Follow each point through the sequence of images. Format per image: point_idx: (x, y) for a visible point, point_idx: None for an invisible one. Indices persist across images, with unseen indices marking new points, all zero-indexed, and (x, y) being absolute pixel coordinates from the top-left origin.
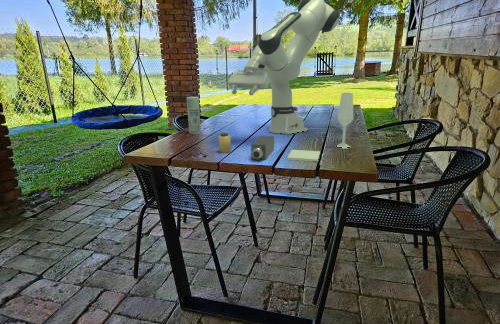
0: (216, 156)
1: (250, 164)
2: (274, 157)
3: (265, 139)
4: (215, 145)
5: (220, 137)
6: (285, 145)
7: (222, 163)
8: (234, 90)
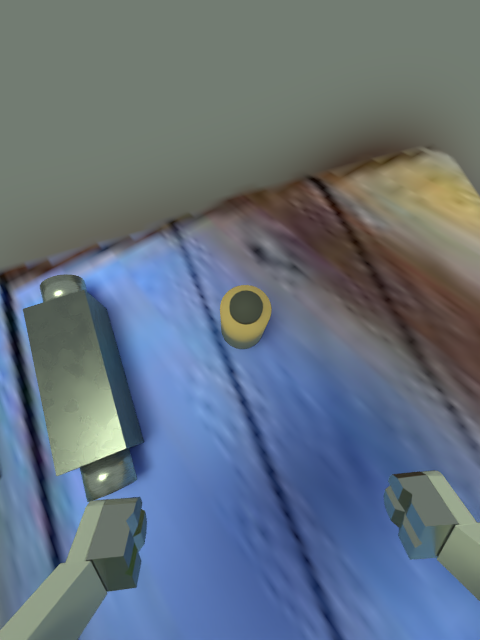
0: (225, 269)
1: (79, 263)
2: None
3: (69, 394)
4: (338, 376)
5: (246, 286)
6: None
7: (160, 228)
8: (414, 497)
